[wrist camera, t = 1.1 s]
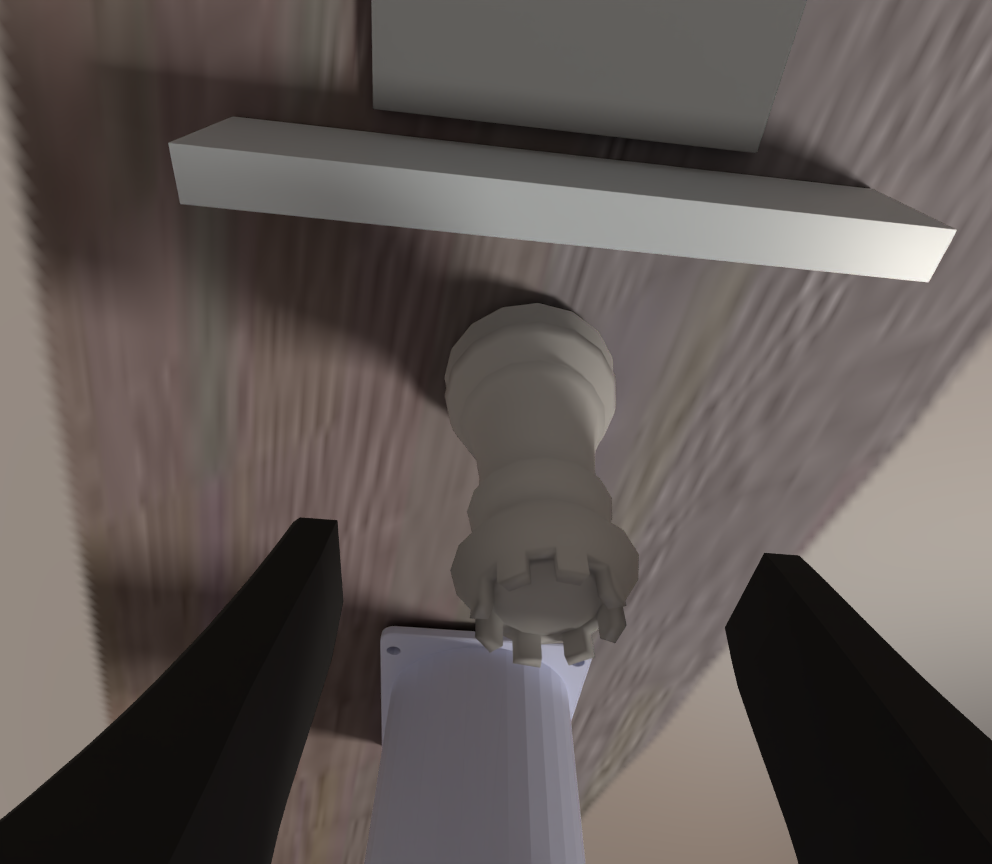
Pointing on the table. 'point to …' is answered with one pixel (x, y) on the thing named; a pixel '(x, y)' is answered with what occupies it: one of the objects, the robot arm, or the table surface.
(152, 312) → the table surface
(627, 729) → the table surface
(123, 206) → the table surface
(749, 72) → the charcoal pad
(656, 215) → the grey acrylic wall
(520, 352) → the rook chess piece
